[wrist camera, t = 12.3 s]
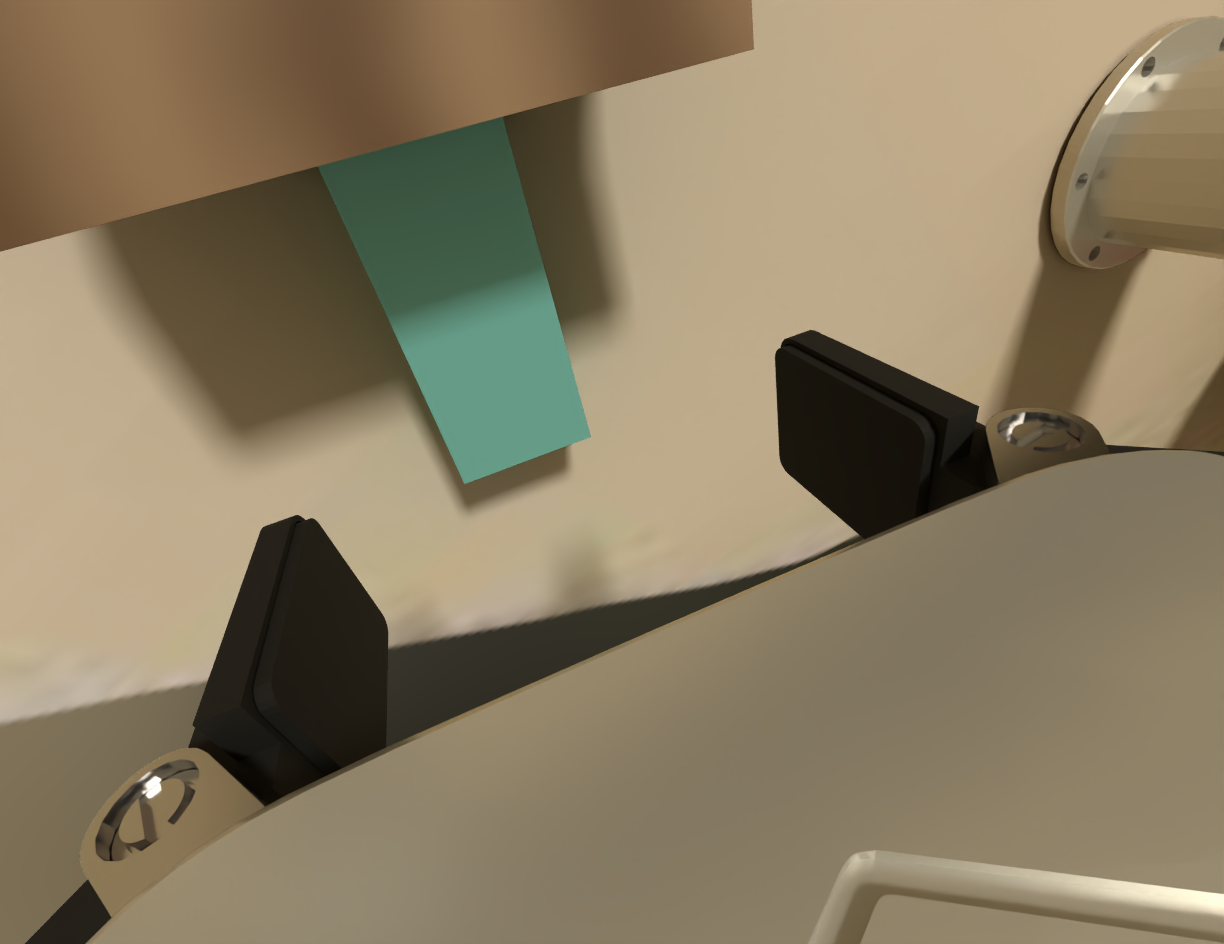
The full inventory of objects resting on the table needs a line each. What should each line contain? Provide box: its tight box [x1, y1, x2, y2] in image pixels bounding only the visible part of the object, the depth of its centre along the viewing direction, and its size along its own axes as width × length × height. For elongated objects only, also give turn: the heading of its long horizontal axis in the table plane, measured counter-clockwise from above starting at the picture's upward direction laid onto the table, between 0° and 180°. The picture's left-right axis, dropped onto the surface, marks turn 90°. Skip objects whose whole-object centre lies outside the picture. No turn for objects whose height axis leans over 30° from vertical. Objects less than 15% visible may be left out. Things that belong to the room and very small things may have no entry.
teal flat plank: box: [317, 117, 591, 484], centre depth 21 cm, size 6×18×4 cm, turn 13°
